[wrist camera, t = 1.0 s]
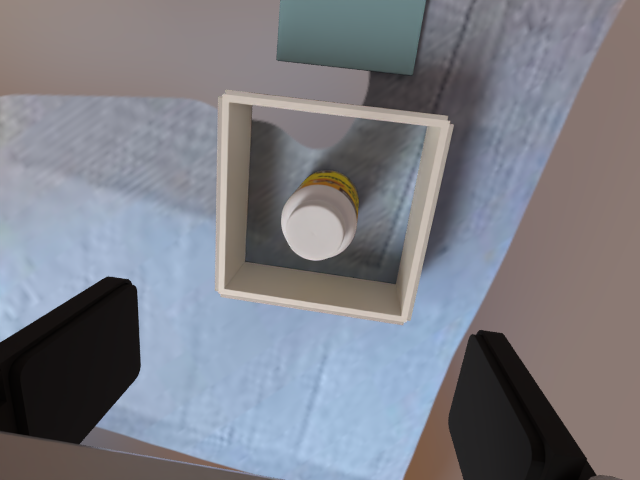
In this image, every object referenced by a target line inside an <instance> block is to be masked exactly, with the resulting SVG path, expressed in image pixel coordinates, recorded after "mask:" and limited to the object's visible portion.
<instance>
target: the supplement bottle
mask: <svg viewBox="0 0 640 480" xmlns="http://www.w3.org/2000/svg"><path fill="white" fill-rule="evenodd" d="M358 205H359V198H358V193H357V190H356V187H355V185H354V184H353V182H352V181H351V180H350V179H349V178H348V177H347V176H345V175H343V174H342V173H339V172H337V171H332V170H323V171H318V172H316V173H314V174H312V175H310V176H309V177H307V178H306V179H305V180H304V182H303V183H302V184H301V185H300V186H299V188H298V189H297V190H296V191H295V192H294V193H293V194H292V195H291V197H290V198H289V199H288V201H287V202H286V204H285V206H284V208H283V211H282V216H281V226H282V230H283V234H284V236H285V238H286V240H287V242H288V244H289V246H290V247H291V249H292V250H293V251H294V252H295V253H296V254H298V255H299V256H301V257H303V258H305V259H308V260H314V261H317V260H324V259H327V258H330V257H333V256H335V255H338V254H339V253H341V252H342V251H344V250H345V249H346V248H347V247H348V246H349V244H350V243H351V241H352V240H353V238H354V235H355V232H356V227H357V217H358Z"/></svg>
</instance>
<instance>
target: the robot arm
mask: <svg viewBox="0 0 640 480" xmlns="http://www.w3.org/2000/svg"><path fill="white" fill-rule="evenodd" d="M140 367H141V362H140V341H139V320H138V299H137V288H136V286H134V285H132V283H131V281H130V280H129V279H122V278H115V277H106V278H104V279H102V280H101V281H99V282H97V283H96V284H94V285H93V286H91V287H89V288H88V289H86V290H84V291H83V292H81V293H80V294H78V295H76V296H75V297H73V298H71V299H70V300H68V301H67V302H65V303H63V304H62V305H60V306H59V307H57V308H55V309H54V310H52V311H50V312H49V313H47V314H46V315H44V316H42V317H41V318H39V319H38V320H36V321H34V322H33V323H31V324H29V325H28V326H26V327H25V328H23V329H21V330H20V331H18V332H16V333H15V334H13V335H12V336H10V337H8V338H7V339H5V340H4V341H2V342H0V480H284V479H278V478H272V477H267V476H261V475H255V474H249V473H244V472H238V471H232V470H227V469H220V468H215V467H209V466H204V465H198V464H191V463H186V462H180V461H175V460H169V459H163V458H157V457H151V456H145V455H139V454H133V453H127V452H121V451H115V450H109V449H103V448H98V447H97V448H96V447H91V446H86V445H80V443H81V442H82V441H83V439H84V438H85V437H86V436H87V435H88V434H89V433H90V431H91V430H92V429H93V428H94V427H95V426H96V424H97V423H98V422H99V421H100V420H101V419H102V418H103V416H104V415H105V414H106V413H107V412H108V411H109V409H110V408H111V407H112V406H113V405H114V404H115V403H116V401H117V400H118V399H119V398H120V397H121V396H122V394H123V393H124V392H125V391H126V390H127V389H128V388H129V386H130V385H131V384H132V383H133V382H134V381H135V379H136V378H137V376H138V374H139V372H140ZM448 421H449V422H448V424H449V430H450V434H451V437H452V441H453V444H454V448H455V451H456V455H457V458H458V462H459V465H460V469H461V472H462V476H463V479H464V480H622V479H618V478H615V477H612V476H604V475H598V476H597V475H596V474H595V472H594V471H593V469H592V468H591V466H590V465H589V463H588V462H587V458H586V457H585V455H584V454H583V452H582V451H581V449H580V448H579V446H578V445H577V443H576V442H575V440H574V439H573V437H572V436H571V434H570V433H569V431H568V430H567V428H566V427H565V425H564V424H563V422H562V421H561V419H560V418H559V416H558V415H557V413H556V412H555V410H554V409H553V407H552V406H551V404H550V403H549V401H548V400H547V398H546V397H545V395H544V394H543V392H542V391H541V389H540V388H539V386H538V385H537V383H536V382H535V380H534V379H533V377H532V376H531V374H530V373H529V371H528V370H527V368H526V367H525V365H524V364H523V362H522V361H521V359H520V358H519V356H518V355H517V354H516V352H515V351H514V349H513V347H512V346H511V344H510V343H509V342H508V340H507V338H506V337H505V335H504V334H503V333H497V332H490V331H483V330H479V331H478V332H477V334H476V335H473V334H472V335H471V336H470V337H469V340H468V344H467V348H466V352H465V355H464V359H463V363H462V367H461V371H460V375H459V379H458V382H457V386H456V390H455V394H454V397H453V401H452V405H451V409H450V413H449V420H448Z"/></svg>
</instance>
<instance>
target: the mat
mask: <svg viewBox="0 0 640 480" xmlns="http://www.w3.org/2000/svg"><path fill="white" fill-rule="evenodd" d="M425 3H426V0H280V12H279V13H280V14H279V28H278V44H277V60H278V61H285V62H294V63H303V64H312V65H321V66H330V67H339V68H348V69H357V70H366V71H375V72H384V73H393V74H402V75H411V76H412V75H413V70H414V65H415V59H416V53H417V48H418V42H419V37H420V31H421V25H422V20H423V14H424V9H425Z"/></svg>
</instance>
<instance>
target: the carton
mask: <svg viewBox="0 0 640 480" xmlns="http://www.w3.org/2000/svg"><path fill="white" fill-rule="evenodd" d="M252 105H257V106H265V107H273V108H281V109H290V110H298V111H307V112H315V113H324V114H332V115H340V116H348V117H357V118H365V119H373V120H382V121H390V122H398V123H407V124H415V125H423V126H427V130H426V135H425V140H424V145H423V150H422V155H421V160H420V165H419V170H418V175H417V180H416V185H415V190H414V195H413V200H412V205H411V210H410V215H409V220H408V225H407V230H406V235H405V240H404V246H403V251H402V256H401V261H400V266H399V271H398V276H397V281H396V284H391V283H385V282H378V281H371V280H365V279H358V278H351V277H344V276H338V275H331V274H324V273H317V272H311V271H304V270H297V269H290V268H284V267H277V266H270V265H263V264H257V263H250V262H245V253H246V231H247V209H248V187H249V165H250V143H251V122H252ZM447 119H448V116H445V115H437V114H429V113H420V112H411V111H403V110H394V109H386V108H377V107H369V106H360V105H352V104H343V103H335V102H326V101H318V100H309V99H301V98H291V97H283V96H275V95H266V94H258V93H250V92H241V91H231V90H225V94H222V97H218V139H217V200H216V260H215V291H218V293H219V294H221V297H225V298H231V299H238V300H244V301H251V302H257V303H264V304H270V305H276V306H283V307H289V308H296V309H302V310H309V311H315V312H321V313H328V314H334V315H341V316H347V317H354V318H360V319H367V320H373V321H379V322H386V323H392V324H399V325H403V324H404V322H406V321H410V320H411V316H412V311H413V307H414V302H415V298H416V293H417V289H418V284H419V280H420V275H421V271H422V266H423V262H424V257H425V253H426V248H427V244H428V239H429V235H430V230H431V226H432V221H433V217H434V212H435V208H436V203H437V199H438V194H439V190H440V185H441V181H442V176H443V172H444V167H445V163H446V158H447V154H448V149H449V145H450V140H451V136H452V131H453V127H454V124H450V121H448V120H447Z"/></svg>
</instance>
